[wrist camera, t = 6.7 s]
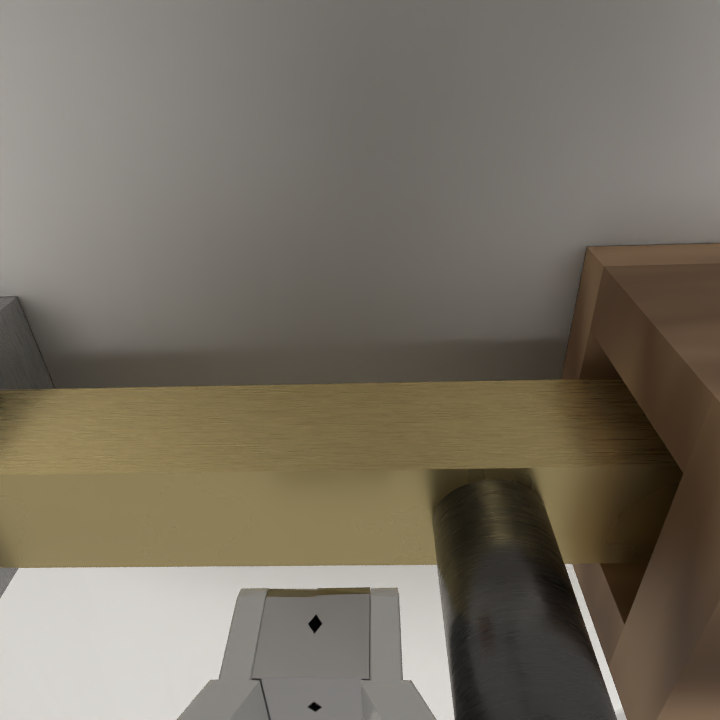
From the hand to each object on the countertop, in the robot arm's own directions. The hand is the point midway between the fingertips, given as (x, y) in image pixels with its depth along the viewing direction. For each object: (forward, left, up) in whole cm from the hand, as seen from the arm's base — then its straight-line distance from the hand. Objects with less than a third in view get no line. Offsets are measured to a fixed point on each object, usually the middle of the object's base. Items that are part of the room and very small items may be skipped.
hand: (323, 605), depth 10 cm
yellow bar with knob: (0, +1, -5) cm, 5 cm away
